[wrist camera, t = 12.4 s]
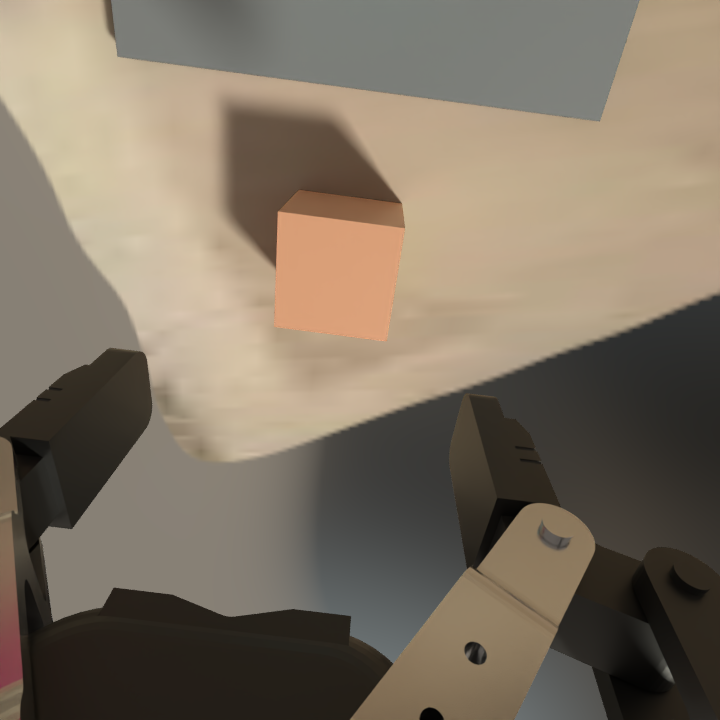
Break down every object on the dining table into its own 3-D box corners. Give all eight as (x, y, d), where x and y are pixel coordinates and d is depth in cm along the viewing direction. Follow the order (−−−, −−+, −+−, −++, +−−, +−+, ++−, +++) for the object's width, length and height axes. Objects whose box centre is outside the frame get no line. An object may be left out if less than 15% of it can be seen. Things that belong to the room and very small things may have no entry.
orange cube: (299, 189, 23) (277, 211, 18) (402, 203, 23) (405, 228, 18) (294, 286, 25) (274, 326, 21) (387, 299, 25) (386, 341, 21)
